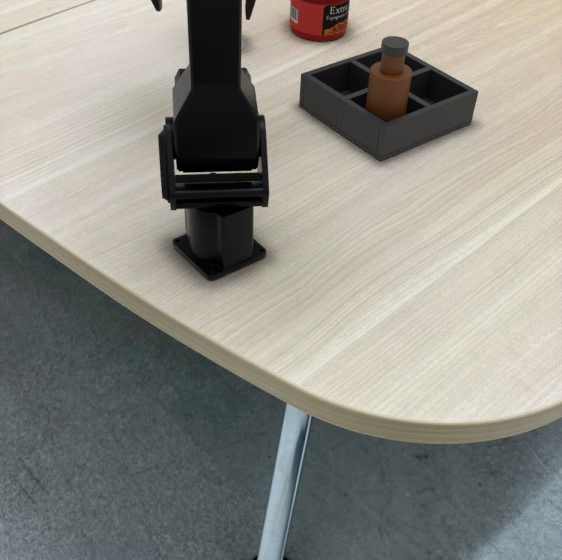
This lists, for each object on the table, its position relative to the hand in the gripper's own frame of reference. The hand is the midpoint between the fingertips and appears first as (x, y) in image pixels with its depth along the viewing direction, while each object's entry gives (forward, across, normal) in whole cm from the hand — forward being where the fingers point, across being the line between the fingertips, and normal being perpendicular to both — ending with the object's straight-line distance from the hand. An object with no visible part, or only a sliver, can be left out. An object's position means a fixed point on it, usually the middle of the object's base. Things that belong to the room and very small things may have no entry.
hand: (203, 14), depth 80 cm
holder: (+12, -20, -6) cm, 24 cm away
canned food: (+12, -10, -27) cm, 31 cm away
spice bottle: (+11, -20, -1) cm, 23 cm away
